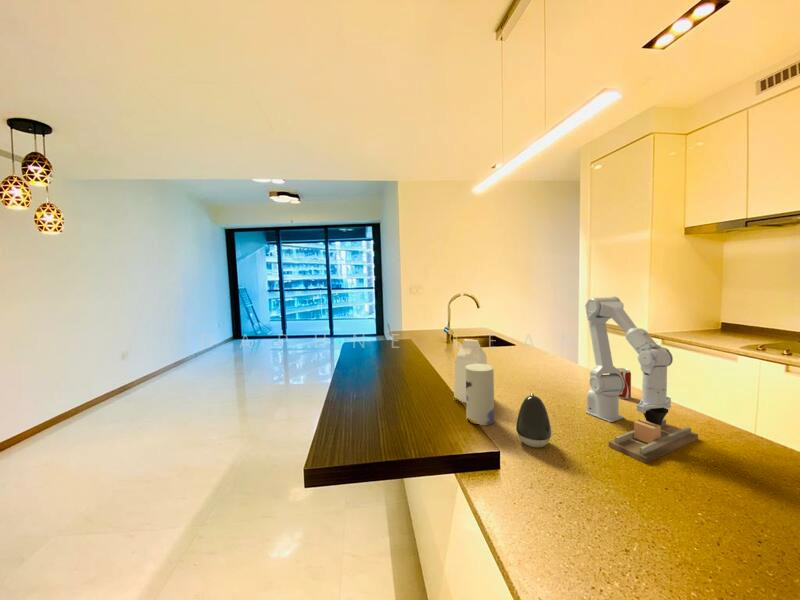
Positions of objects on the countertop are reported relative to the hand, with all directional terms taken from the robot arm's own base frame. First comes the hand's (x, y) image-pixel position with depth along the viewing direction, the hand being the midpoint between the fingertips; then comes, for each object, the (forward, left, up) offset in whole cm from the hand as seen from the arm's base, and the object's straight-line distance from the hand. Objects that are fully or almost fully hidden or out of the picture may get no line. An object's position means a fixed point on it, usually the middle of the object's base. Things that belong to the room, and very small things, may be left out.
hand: (653, 430), depth 95 cm
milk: (-56, -26, -4) cm, 62 cm away
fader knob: (0, -3, -2) cm, 4 cm away
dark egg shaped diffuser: (-17, -32, -4) cm, 36 cm away
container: (-38, -36, -4) cm, 52 cm away
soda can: (-26, +30, -4) cm, 40 cm away
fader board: (0, 0, -4) cm, 4 cm away
